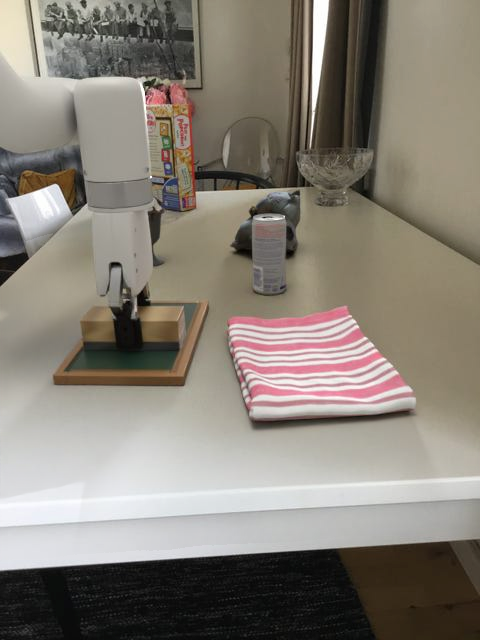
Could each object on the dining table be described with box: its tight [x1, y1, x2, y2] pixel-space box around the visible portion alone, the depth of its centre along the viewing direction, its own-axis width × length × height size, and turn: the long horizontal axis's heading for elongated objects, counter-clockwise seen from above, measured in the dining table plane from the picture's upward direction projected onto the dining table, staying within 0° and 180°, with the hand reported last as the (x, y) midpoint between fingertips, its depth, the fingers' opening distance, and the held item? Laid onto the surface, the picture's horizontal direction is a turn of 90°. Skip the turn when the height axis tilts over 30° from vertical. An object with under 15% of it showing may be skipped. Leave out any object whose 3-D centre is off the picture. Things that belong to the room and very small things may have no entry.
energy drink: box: [251, 214, 287, 296], centre depth 90 cm, size 5×5×12 cm
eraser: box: [79, 305, 186, 351], centre depth 71 cm, size 12×5×4 cm, turn 87°
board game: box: [145, 103, 197, 212], centre depth 155 cm, size 20×6×27 cm, turn 46°
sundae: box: [147, 196, 166, 267], centre depth 106 cm, size 7×7×15 cm
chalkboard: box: [52, 300, 210, 387], centre depth 75 cm, size 15×24×1 cm, turn 176°
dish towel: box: [226, 305, 417, 422], centre depth 66 cm, size 17×23×4 cm
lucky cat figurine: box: [229, 189, 302, 255], centre depth 113 cm, size 15×12×14 cm
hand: (135, 337), depth 72 cm, fingers closed on eraser, 5 cm apart
